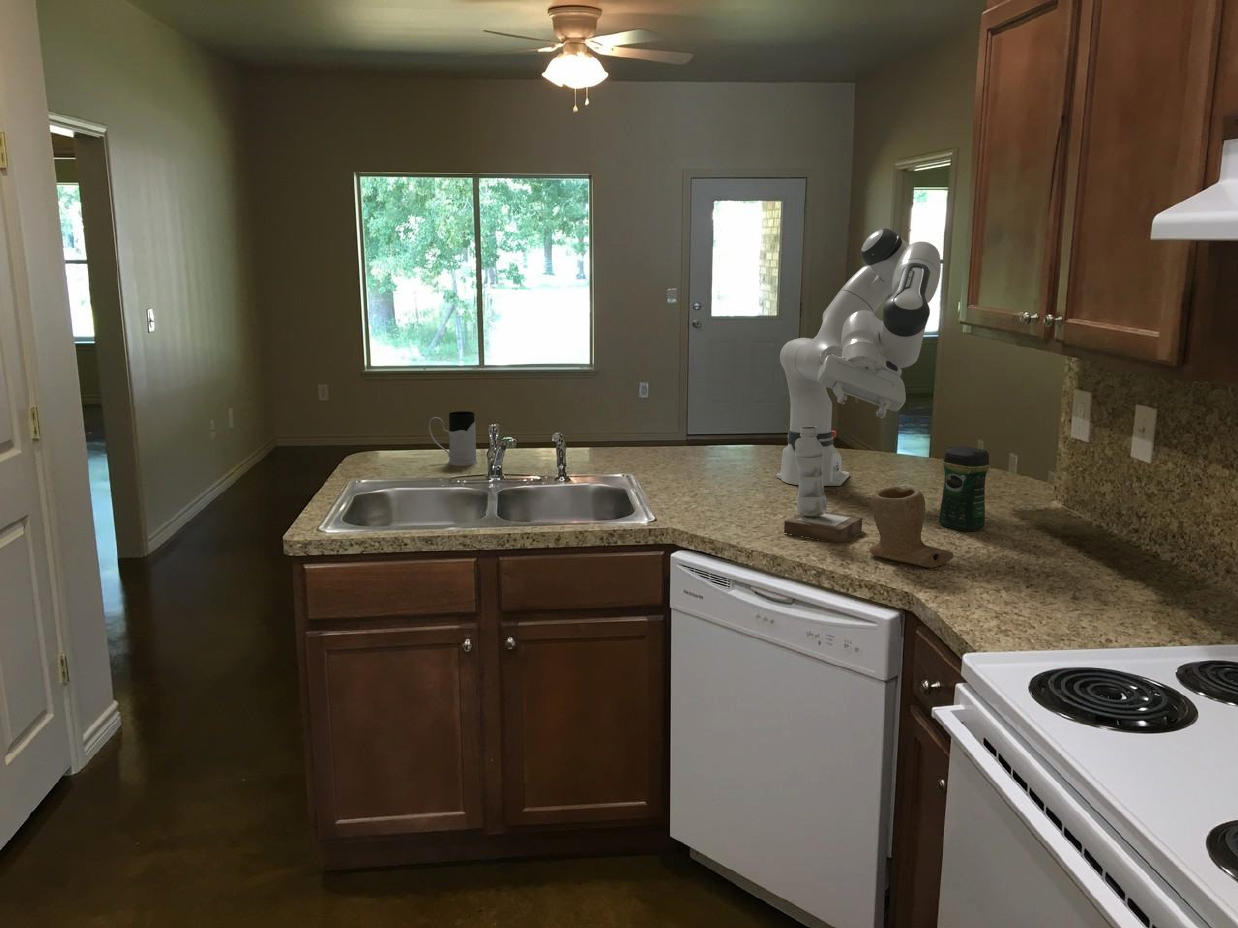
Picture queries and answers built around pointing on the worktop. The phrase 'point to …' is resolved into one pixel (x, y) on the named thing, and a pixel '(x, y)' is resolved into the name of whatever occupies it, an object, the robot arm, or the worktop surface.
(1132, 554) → the worktop surface
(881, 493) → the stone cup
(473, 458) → the grey and black mug
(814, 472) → the plastic bottle
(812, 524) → the walnut slab
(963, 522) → the coffee jar
